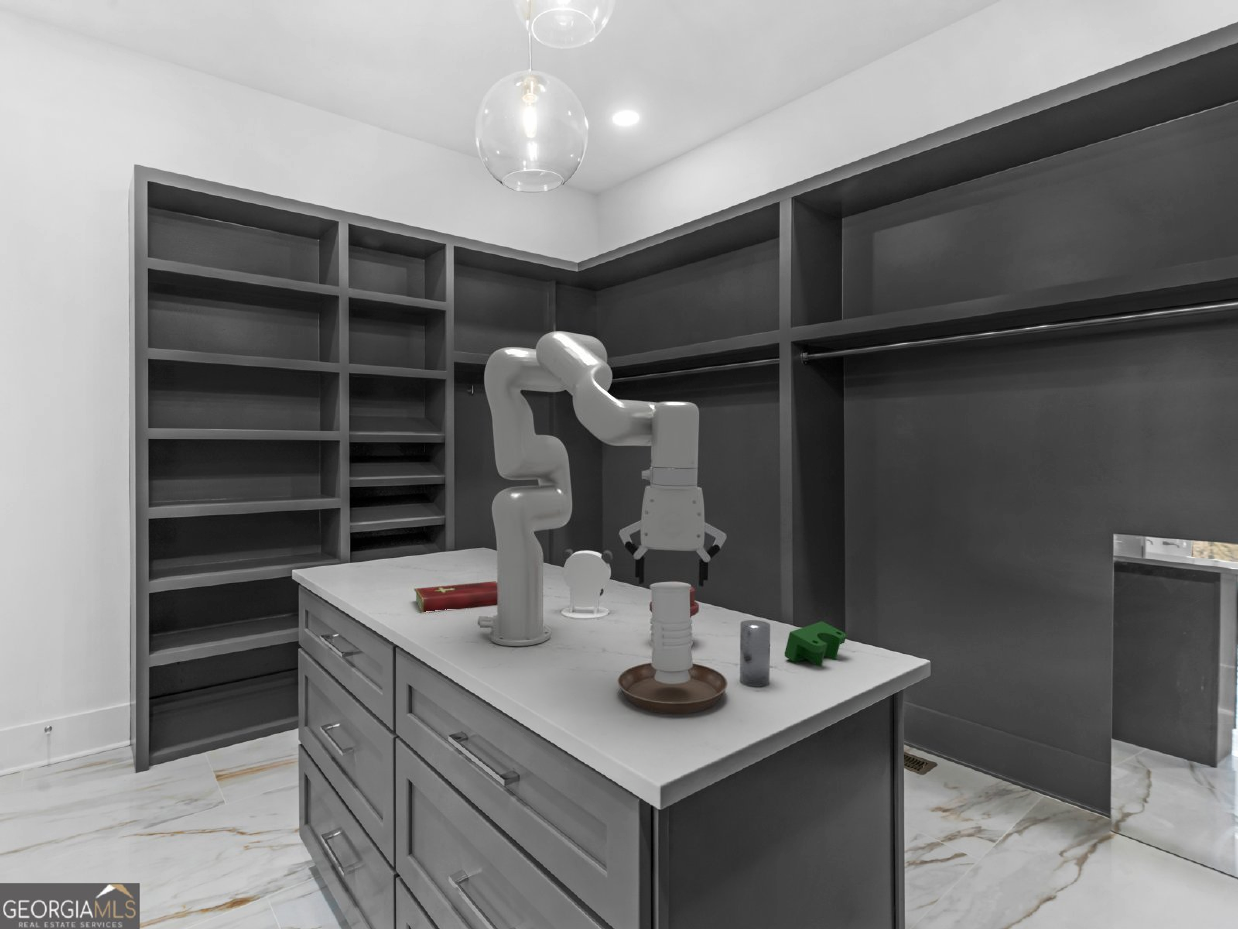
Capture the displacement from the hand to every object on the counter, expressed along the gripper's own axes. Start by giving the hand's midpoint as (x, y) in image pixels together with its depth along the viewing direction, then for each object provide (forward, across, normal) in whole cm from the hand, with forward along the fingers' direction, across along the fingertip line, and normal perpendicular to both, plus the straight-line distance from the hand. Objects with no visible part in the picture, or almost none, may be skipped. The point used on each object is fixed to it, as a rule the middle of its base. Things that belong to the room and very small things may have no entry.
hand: (671, 583), depth 106 cm
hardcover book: (+20, -53, +53) cm, 78 cm away
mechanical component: (+19, +1, +26) cm, 32 cm away
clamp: (+18, +28, +19) cm, 38 cm away
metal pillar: (+18, +15, +6) cm, 24 cm away
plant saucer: (+19, +1, -1) cm, 19 cm away
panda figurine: (+19, -20, +47) cm, 55 cm away
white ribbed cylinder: (+16, +1, 0) cm, 16 cm away
